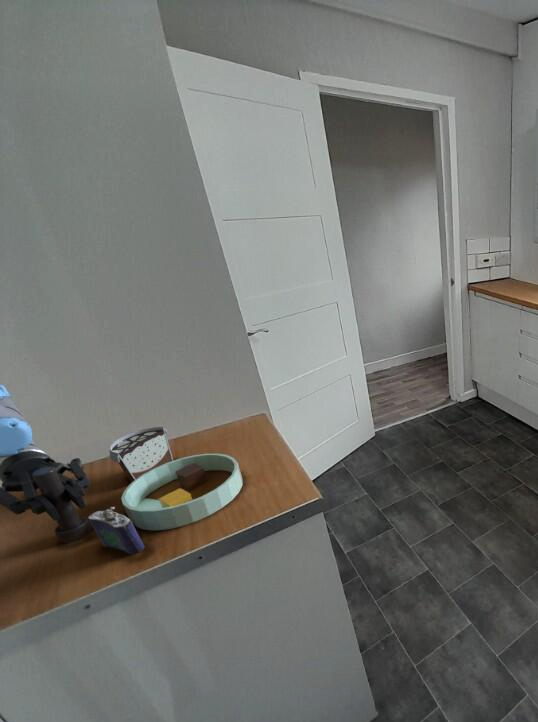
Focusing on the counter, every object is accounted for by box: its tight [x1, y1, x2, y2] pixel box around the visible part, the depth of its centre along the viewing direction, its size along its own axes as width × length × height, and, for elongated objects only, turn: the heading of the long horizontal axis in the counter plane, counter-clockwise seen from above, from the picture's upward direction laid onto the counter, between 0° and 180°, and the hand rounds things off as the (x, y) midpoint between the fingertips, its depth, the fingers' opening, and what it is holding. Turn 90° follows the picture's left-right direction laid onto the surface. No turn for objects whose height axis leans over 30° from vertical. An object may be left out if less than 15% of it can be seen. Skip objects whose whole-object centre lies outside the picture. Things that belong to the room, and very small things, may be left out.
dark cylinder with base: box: [32, 467, 93, 544], centre depth 76 cm, size 4×4×15 cm
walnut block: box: [175, 463, 209, 491], centre depth 95 cm, size 4×4×4 cm
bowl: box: [120, 453, 244, 531], centre depth 91 cm, size 20×20×6 cm
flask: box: [87, 506, 145, 555], centre depth 75 cm, size 9×3×11 cm, turn 73°
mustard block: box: [158, 487, 193, 508], centre depth 87 cm, size 4×4×4 cm
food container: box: [109, 426, 174, 483], centre depth 98 cm, size 12×6×10 cm, turn 172°
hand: (68, 508), depth 73 cm, fingers closed on dark cylinder with base, 3 cm apart
